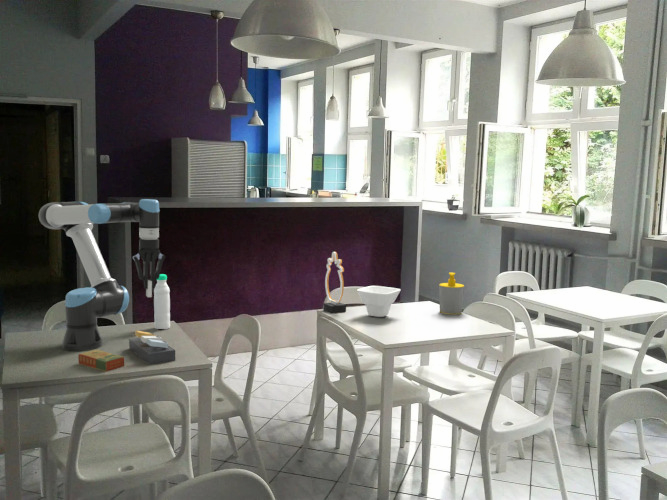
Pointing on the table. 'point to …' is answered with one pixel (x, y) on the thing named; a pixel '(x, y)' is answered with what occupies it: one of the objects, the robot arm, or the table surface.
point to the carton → (101, 360)
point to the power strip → (151, 352)
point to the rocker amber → (143, 334)
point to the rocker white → (145, 338)
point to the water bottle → (162, 303)
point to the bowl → (378, 299)
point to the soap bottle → (451, 296)
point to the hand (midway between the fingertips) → (148, 296)
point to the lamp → (336, 305)
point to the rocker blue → (157, 343)
